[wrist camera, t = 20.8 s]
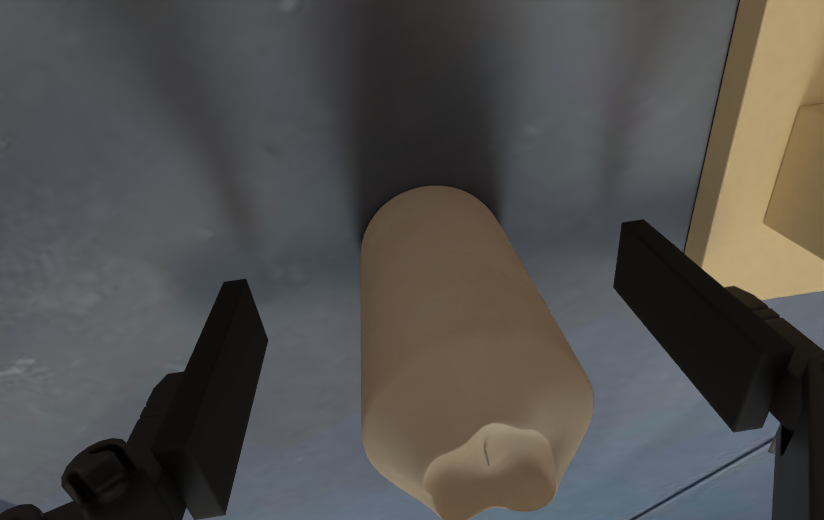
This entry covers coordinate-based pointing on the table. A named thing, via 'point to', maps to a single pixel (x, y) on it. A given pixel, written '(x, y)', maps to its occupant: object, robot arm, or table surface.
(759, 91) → the bracket
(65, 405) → the table surface
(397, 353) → the candle
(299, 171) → the table surface
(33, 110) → the table surface
